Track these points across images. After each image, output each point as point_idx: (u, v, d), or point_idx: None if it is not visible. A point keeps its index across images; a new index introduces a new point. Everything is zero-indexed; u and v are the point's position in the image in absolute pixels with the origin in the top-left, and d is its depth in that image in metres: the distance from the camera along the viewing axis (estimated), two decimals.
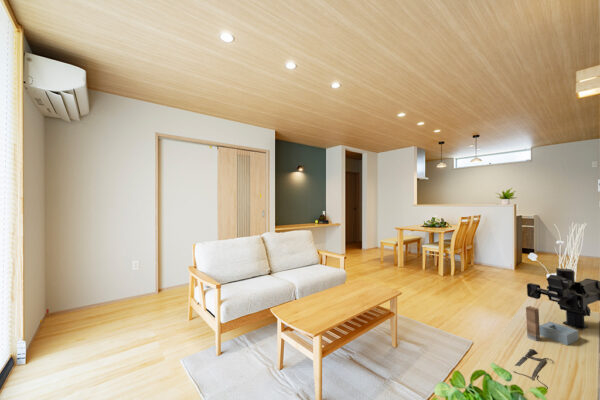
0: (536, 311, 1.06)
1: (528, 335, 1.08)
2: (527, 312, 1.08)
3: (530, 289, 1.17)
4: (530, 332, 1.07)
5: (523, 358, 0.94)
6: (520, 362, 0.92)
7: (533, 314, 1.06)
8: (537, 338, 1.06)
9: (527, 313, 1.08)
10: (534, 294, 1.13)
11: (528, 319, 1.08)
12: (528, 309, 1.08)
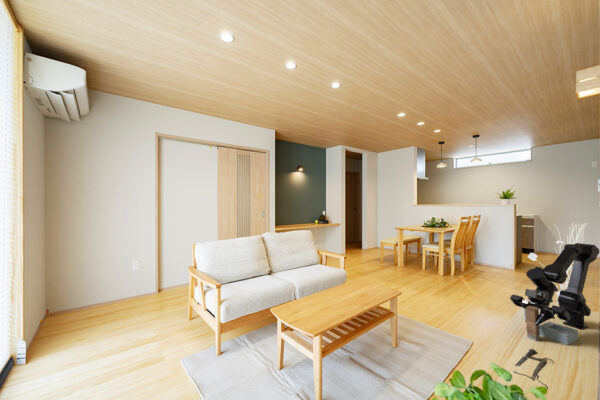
0: (536, 311, 1.06)
1: (528, 335, 1.08)
2: (527, 312, 1.08)
3: (522, 305, 1.13)
4: (530, 332, 1.07)
5: (523, 358, 0.94)
6: (520, 362, 0.92)
7: (533, 314, 1.06)
8: (537, 338, 1.06)
9: (527, 313, 1.08)
10: None
11: (528, 319, 1.08)
12: (528, 309, 1.08)
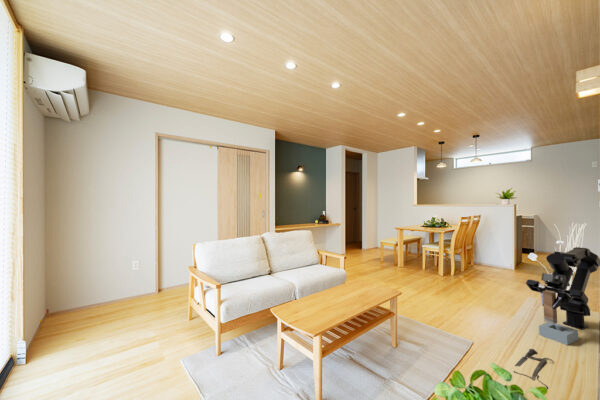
0: (553, 295, 1.07)
1: (545, 319, 1.08)
2: (544, 296, 1.08)
3: (539, 290, 1.13)
4: (547, 316, 1.08)
5: (523, 358, 0.94)
6: (520, 362, 0.92)
7: (551, 297, 1.06)
8: (554, 321, 1.06)
9: (544, 297, 1.08)
10: None
11: (545, 303, 1.08)
12: (545, 293, 1.08)
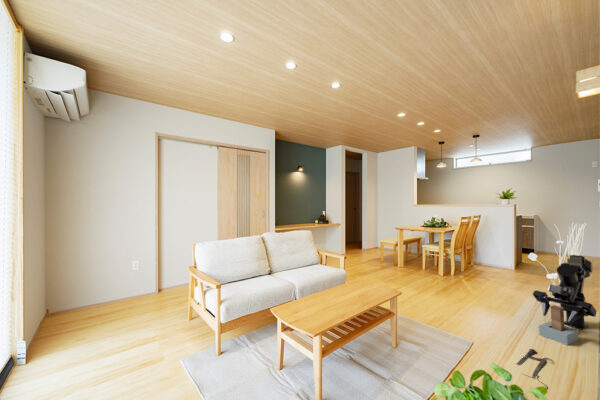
0: (561, 310, 1.06)
1: None
2: (552, 311, 1.08)
3: (539, 299, 1.15)
4: None
5: (523, 358, 0.94)
6: (520, 362, 0.92)
7: (559, 313, 1.06)
8: None
9: (552, 312, 1.08)
10: (546, 309, 1.12)
11: (553, 318, 1.08)
12: (553, 308, 1.08)
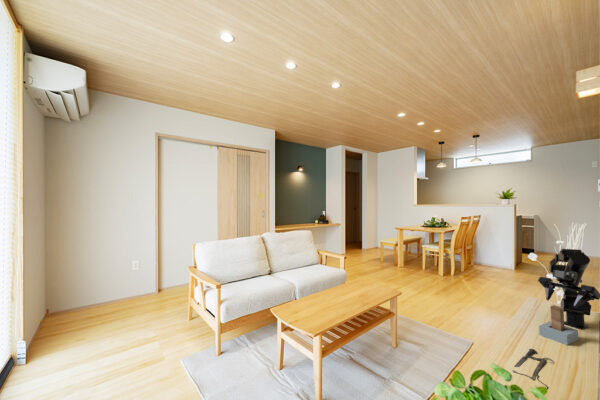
0: (561, 310, 1.06)
1: None
2: (552, 311, 1.08)
3: (543, 285, 1.18)
4: None
5: (523, 358, 0.94)
6: (520, 362, 0.92)
7: (559, 313, 1.06)
8: None
9: (552, 312, 1.08)
10: (549, 293, 1.15)
11: (553, 318, 1.08)
12: (553, 308, 1.08)
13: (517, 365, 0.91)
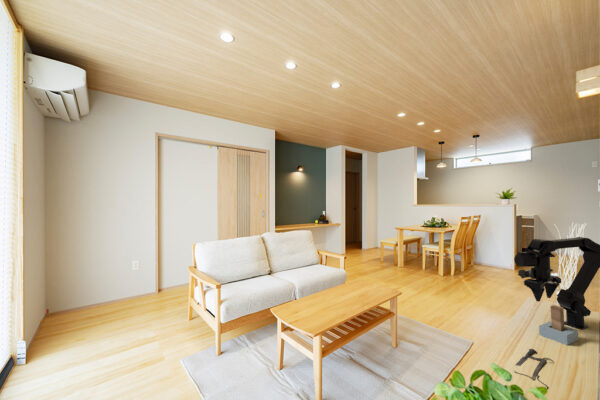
0: (561, 310, 1.06)
1: None
2: (552, 311, 1.08)
3: None
4: None
5: (523, 358, 0.94)
6: (520, 362, 0.92)
7: (559, 313, 1.06)
8: None
9: (552, 312, 1.08)
10: (548, 291, 1.20)
11: (553, 318, 1.08)
12: (553, 308, 1.08)
13: (517, 365, 0.91)
